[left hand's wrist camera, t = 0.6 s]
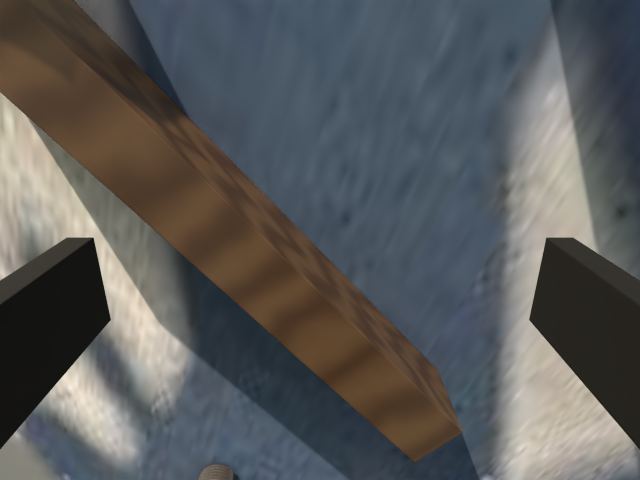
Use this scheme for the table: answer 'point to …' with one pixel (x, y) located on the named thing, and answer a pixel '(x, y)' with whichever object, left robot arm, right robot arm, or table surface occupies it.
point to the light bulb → (216, 473)
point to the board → (215, 216)
